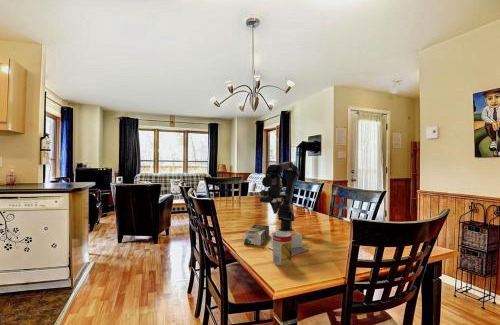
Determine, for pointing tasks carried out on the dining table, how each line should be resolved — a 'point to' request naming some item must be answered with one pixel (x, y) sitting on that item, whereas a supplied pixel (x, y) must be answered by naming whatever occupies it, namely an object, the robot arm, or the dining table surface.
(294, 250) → the mat
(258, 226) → the juice carton
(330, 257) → the dining table surface
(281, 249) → the canned food
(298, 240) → the small box
